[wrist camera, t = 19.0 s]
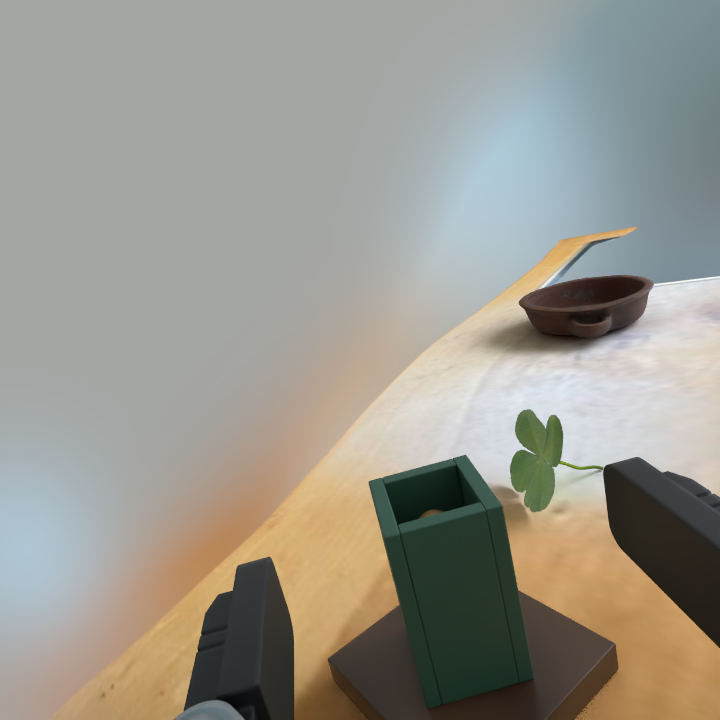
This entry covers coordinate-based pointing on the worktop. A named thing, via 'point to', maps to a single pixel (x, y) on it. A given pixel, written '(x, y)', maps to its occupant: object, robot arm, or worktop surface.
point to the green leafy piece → (538, 459)
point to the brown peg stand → (487, 710)
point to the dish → (588, 305)
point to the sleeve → (453, 580)
